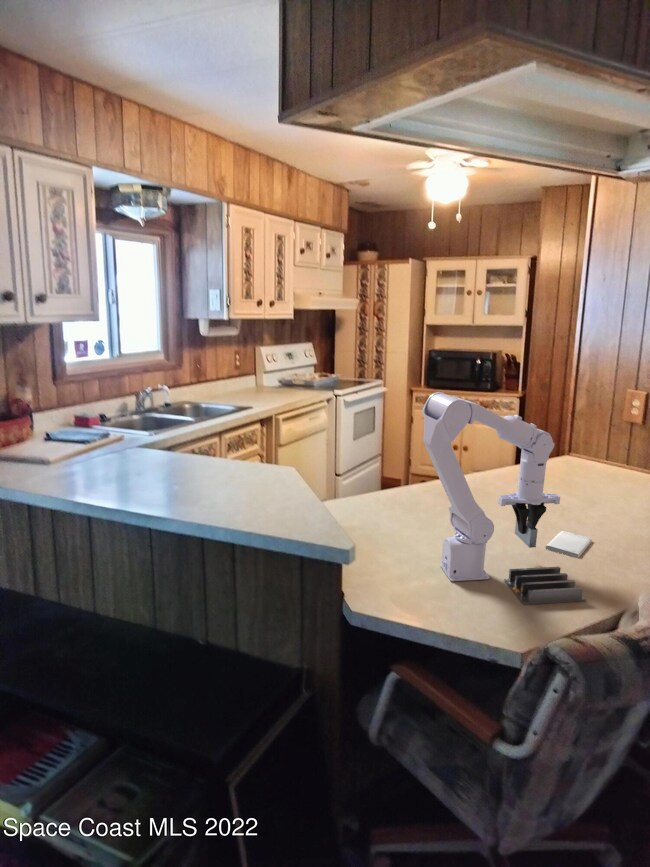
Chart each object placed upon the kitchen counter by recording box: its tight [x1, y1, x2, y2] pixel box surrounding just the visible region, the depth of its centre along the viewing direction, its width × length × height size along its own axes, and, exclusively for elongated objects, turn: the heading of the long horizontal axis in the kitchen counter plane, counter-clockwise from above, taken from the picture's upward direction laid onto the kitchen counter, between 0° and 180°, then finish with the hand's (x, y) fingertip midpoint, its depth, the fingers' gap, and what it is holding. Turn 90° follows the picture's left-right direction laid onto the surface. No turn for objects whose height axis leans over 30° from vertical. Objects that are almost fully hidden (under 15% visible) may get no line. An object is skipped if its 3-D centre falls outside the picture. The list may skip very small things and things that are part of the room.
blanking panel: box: [514, 517, 538, 548], centre depth 146 cm, size 8×2×4 cm, turn 7°
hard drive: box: [544, 530, 593, 559], centre depth 159 cm, size 2×8×12 cm
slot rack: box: [503, 566, 587, 606], centre depth 135 cm, size 14×10×3 cm
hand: (525, 532), depth 146 cm, fingers closed on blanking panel, 2 cm apart
